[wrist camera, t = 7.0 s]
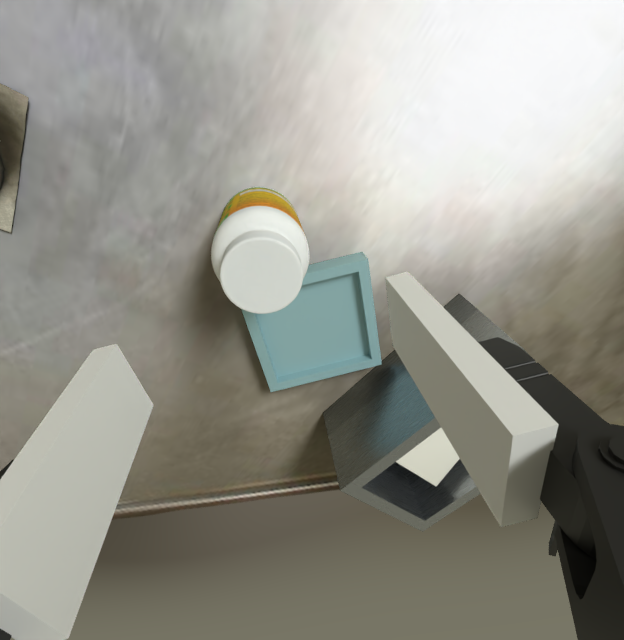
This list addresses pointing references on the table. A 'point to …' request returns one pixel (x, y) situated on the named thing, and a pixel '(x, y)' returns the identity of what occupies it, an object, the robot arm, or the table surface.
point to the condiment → (10, 150)
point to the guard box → (398, 436)
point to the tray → (320, 326)
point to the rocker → (431, 458)
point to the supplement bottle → (260, 251)
